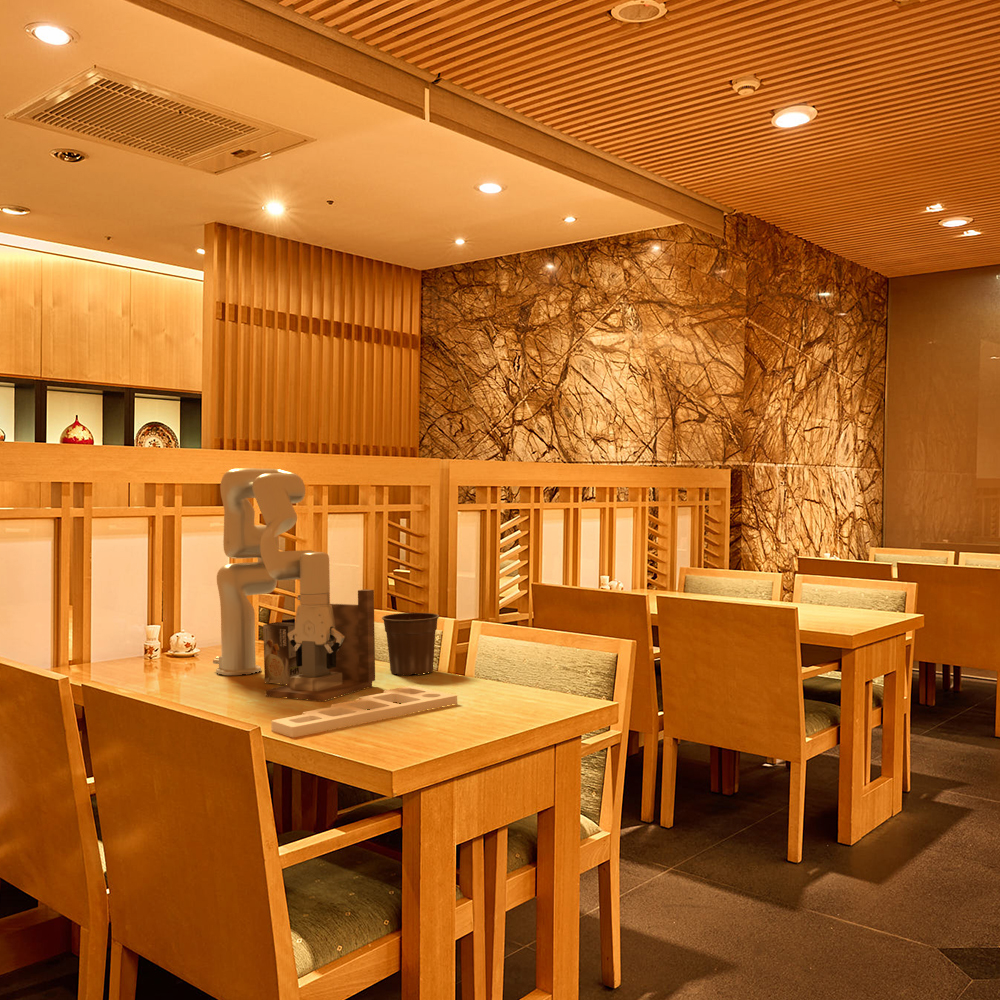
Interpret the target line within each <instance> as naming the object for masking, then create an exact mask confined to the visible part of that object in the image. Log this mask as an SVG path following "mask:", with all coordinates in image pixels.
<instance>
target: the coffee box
mask: <svg viewBox="0 0 1000 1000" xmlns="http://www.w3.org/2000/svg"><path fill="white" fill-rule="evenodd" d="M262 628H263V630H262V632H263V663H264V664H263V667H264V668H263V669H264V670H263V671H264V683H265V682H266V683H265V684H269V683H280V684H279V685H282V684H290V677H292V676H296V675H300V674H302V666H299V667H298V666H296V651H295V650H294V647H293V646H292V645H291V643H290V640H289V637H288V633H289V632H291V631H292V630H294V629H295V622H286V621H285V622H284V621H283V622H282V621H279V622H278V621H276V622H270V623H267V624H266V623H265V624H263V626H262Z"/></svg>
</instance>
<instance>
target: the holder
mask: <svg viewBox="0 0 1000 1000" xmlns="http://www.w3.org/2000/svg"><path fill="white" fill-rule="evenodd" d="M393 702H398V703H393ZM399 703H402V704H399ZM452 704H457V705H458V695H457V694H453V693H449V692H445V691H439V690H434V689H430V688H424V687H419V686H415V685H407V686H403V687H397V688H396V687H395V688H392V689H386V690H383V692H382V693H376V694H371V695H370V694H369V695H365V696H358V699H355V700H350V701H349V700H348V701H344V702H343V701H342V702H339V703H338V702H337V703H333V704H330V705H331V706H329V707H324V708H318V709H313V710H307V711H303V712H302V714H298V715H293V716H289V717H283V718H277V719H272V720H271V722H270V723H271V726H270V727H271V732H274V733H277V734H281V735H282V736H283V735H284V736H286V737H290V738H297V737H303V736H307V735H311V734H312V735H313V734H317V733H318V734H319V733H321V732H327V730H328V731H332V729H333V730H337V729H336V728H338V729H342V728H341V727H343V728H346V726H348V727H351V726H350V725H353V726H357V725H356V724H358V725H362V723H363V724H367V722H368V723H372V722H371V721H373V722H377V720H378V721H382V719H383V720H386V718H388V719H392V718H391V717H393V718H396V717H395V716H398V717H402V716H401V715H403V716H406V715H405V714H408V715H411V714H410V713H413V712H418V711H423V710H427V709H432V708H438V707H442V706H447V705H452ZM366 709H370V710H366ZM438 709H439V708H438ZM423 712H424V711H423ZM418 713H419V712H418ZM413 714H414V713H413Z"/></svg>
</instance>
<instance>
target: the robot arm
mask: <svg viewBox="0 0 1000 1000" xmlns="http://www.w3.org/2000/svg"><path fill="white" fill-rule="evenodd" d="M219 487H220V497H221V500H222V506H223V509H224V511H223V513H224V516H223V541H222V542H223V544H222V545H223V552H224V554H225V555H226V557H228V558H230V559H257V561H256V562H235V563H228V564H225V565H223V566H221V567H220V568H219V569H218V571H217V574H216V585H217V590H218V595H219V601H220V603H219V604H220V605H219V607H220V629H221V630H220V635H221V636H220V638H221V639H220V641H221V643H220V644H221V646H220V647H221V649H220V650H221V656H216V657H215V658H214V659H213V660H212V663H213V664H215V665H218V668H216V669H215V670H216V671H215V673H216V674H217V673H218V674H217V675H219V674H225V675H224V676H243V675H242V674H246V675H252V674H251V673H253V674H256V673H255V672H257V673H259V671H260V672H261V671H262V667H261V666H260V665H258V664H256V663H257V662H256V618H255V617H256V613H255V609H254V606H253V604H252V603H251V601H250V600H249V598H248V597H247V596H255V595H266V594H270V593H272V592H273V591H275V589H276V587H277V585H278V581H291V580H299V595H297V600H298V601H299V602H300V604H299V605H297V608H296V613H295V619H294V623H295V629H294V630H292V631H291V632H289V633H288V637H289V640H290V643H291V645H292V646H293V647H294V650H295V651H296V666H298V667H299V666H302V641H312V642H315V645H317V646H321V645H324V646H325V647H326V649H327V650H328V652H329V653H327V654H326V660H327V669H331V668H335V667H336V652H337V651H338V649H339V648H340V647H341V646H342V643H343V640H344V638H345V636H344V635H343V634H341V633H340V632H338V631H337V630H335V621H334V614H333V609H332V605H330V604H331V591H330V590H331V586H330V582H331V581H330V580H331V579H330V578H331V577H330V556H329V554H328V553H327V552H323V551H314V550H311V549H310V550H308V549H307V550H305V549H304V550H283V551H282V550H281V551H280V542H279V541H280V540H279V537H278V536H279V535H282V534H284V533H286V532H287V531H289V530H291V529H292V528H293V527H294V526H295V525H296V524H297V521H298V515H297V512H296V511H295V508H294V506H293V504H299V503H300V502H302V501H303V500H304V499H305V495H306V486H305V482H304V481H303V478H301V476H300V475H299V474H296V473H294V472H290V471H286V470H283V469H278V468H255V467H251V468H250V467H249V468H248V467H243V468H241V467H239V468H233V469H229V470H227V471H226V472H225V473H224V474H223V475H222V478H221V481H220V486H219ZM249 499H255V501H256V503H257V505H258V507H259V510H260V514H261V515H262V518H263V520H264V522H265V524H263V525H262V524H258V525H255V517H256V515H255V512H256V511H255V508H254V506H253V504H252V503H251V502H250V500H249ZM335 637H336V639H337V640H336V643H334V641H335Z"/></svg>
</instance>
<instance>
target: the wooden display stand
mask: <svg viewBox="0 0 1000 1000" xmlns="http://www.w3.org/2000/svg"><path fill="white" fill-rule="evenodd" d="M330 605H332V609H333V614H334V621H335V630H337V631H338V632H340V633H341V634H343V635H344V636H345V638H344V640H343V643H342V646H341V647H340V648H339V649H338V651H337V652H336V667H335V668H331V669H329V675H325V676H322V677H318V678H310V677H302V674H300V675H296V676H292V677H290V684H287V685H280V686H277V687H273V688H269V689H266V690H265V697H269V696H270V697H271V698H280V697H287V698H286V699H290V698H298V699H297V700H301V699H308V700H307V701H312V700H316V701H315V702H322V701H324V702H326V701H325V700H327V701H329V700H328V699H331V698H334V697H337V698H339V697H338V696H340V697H342V696H341V695H343V696H345V695H344V694H347V695H349V694H348V693H350V694H352V693H351V692H353V693H355V692H354V691H356V692H359V691H362V690H361V689H363V690H365V689H364V688H366V689H368V688H367V687H369V688H372V687H373V682H374V681H376V655H375V654H376V651H375V650H376V649H375V648H376V645H375V641H376V640H375V636H376V635H375V589H359V590H357V604H353V603H352V604H351V603H347V604H346V603H330ZM336 640H337V639H336V637H335V641H334V643H336ZM371 686H372V687H371ZM358 690H359V691H358ZM334 699H335V698H334ZM331 700H332V699H331Z"/></svg>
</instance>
